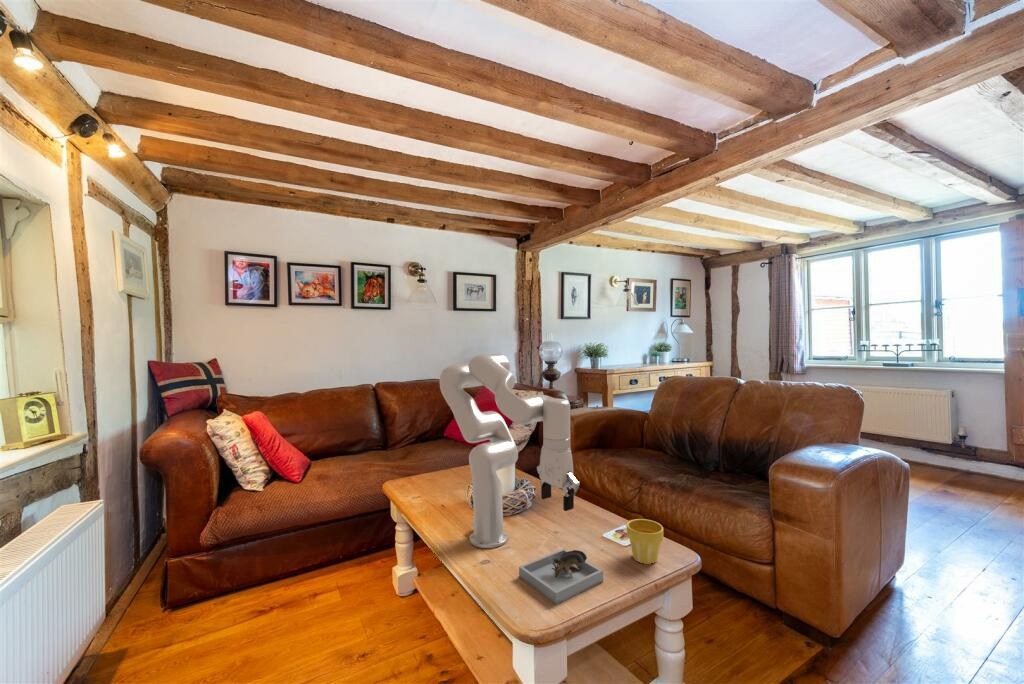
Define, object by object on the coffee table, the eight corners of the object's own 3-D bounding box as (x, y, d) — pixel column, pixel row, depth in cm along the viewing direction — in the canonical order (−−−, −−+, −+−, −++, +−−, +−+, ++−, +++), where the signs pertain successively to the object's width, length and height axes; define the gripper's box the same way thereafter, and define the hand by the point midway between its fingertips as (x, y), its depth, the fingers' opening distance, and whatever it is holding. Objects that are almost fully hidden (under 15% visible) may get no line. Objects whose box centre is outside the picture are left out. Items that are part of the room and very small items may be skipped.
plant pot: (656, 549, 134) (655, 517, 134) (669, 567, 123) (668, 532, 123) (623, 550, 133) (622, 519, 133) (633, 568, 123) (632, 534, 123)
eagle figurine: (569, 582, 113) (592, 565, 119) (555, 556, 116) (579, 539, 121) (555, 586, 119) (578, 569, 124) (542, 560, 122) (565, 545, 127)
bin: (519, 577, 120) (518, 566, 120) (564, 558, 130) (564, 548, 130) (556, 605, 107) (556, 593, 107) (603, 581, 117) (603, 570, 117)
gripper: (527, 438, 127) (528, 496, 127) (567, 452, 112) (567, 518, 113) (548, 435, 131) (548, 491, 132) (588, 448, 117) (588, 511, 117)
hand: (557, 503), depth 122 cm, fingers open, 9 cm apart
